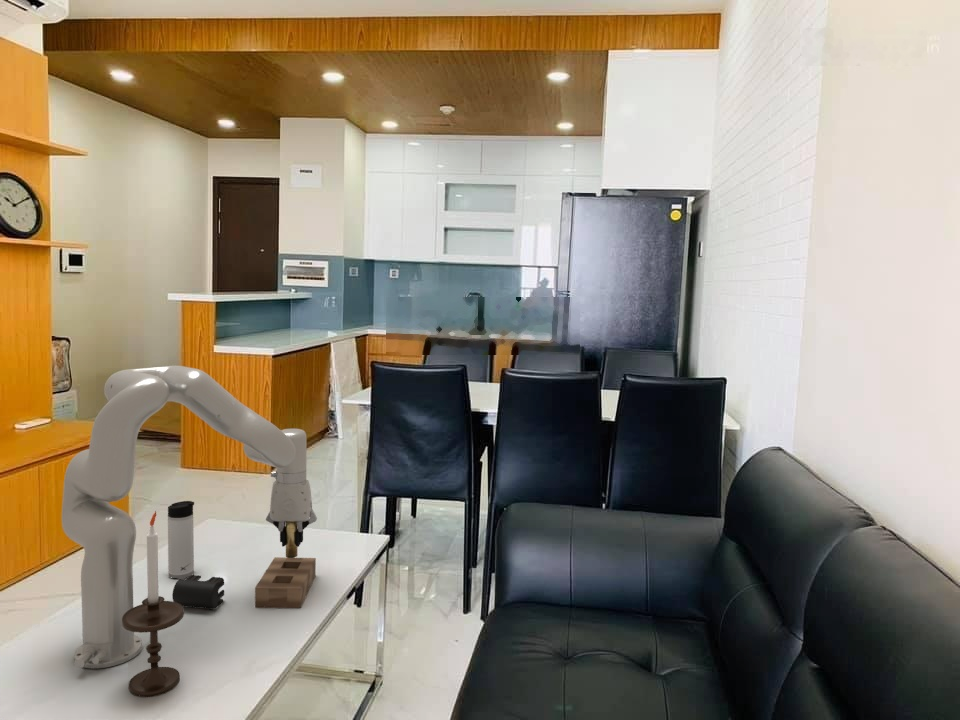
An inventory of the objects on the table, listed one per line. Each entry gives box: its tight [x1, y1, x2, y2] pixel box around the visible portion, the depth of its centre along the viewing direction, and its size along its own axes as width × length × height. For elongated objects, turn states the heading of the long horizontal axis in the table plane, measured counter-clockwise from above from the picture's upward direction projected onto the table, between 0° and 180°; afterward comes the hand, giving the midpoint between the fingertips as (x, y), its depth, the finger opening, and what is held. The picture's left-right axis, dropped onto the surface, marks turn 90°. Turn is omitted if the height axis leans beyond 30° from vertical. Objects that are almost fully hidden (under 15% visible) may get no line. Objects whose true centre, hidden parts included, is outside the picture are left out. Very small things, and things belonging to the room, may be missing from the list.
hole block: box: [254, 556, 317, 609], centre depth 178 cm, size 19×11×5 cm, turn 3°
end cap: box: [172, 574, 225, 610], centre depth 168 cm, size 10×7×7 cm
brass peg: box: [285, 522, 299, 558], centre depth 181 cm, size 3×3×11 cm
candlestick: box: [122, 510, 185, 698], centre depth 134 cm, size 11×11×35 cm
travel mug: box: [167, 500, 195, 579], centre depth 185 cm, size 6×7×20 cm
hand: (291, 544), depth 182 cm, fingers closed on brass peg, 3 cm apart
